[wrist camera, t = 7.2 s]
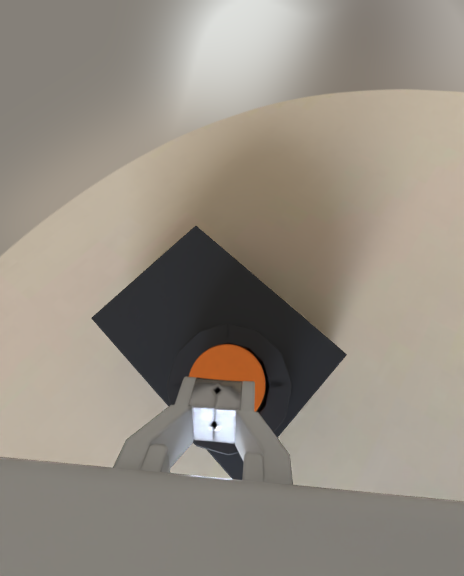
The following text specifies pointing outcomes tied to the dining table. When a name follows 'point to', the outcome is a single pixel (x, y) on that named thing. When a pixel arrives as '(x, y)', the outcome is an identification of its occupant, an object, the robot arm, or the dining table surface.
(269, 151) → the dining table surface
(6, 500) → the robot arm
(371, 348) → the dining table surface
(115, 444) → the dining table surface
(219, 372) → the orange push button
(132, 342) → the button base
